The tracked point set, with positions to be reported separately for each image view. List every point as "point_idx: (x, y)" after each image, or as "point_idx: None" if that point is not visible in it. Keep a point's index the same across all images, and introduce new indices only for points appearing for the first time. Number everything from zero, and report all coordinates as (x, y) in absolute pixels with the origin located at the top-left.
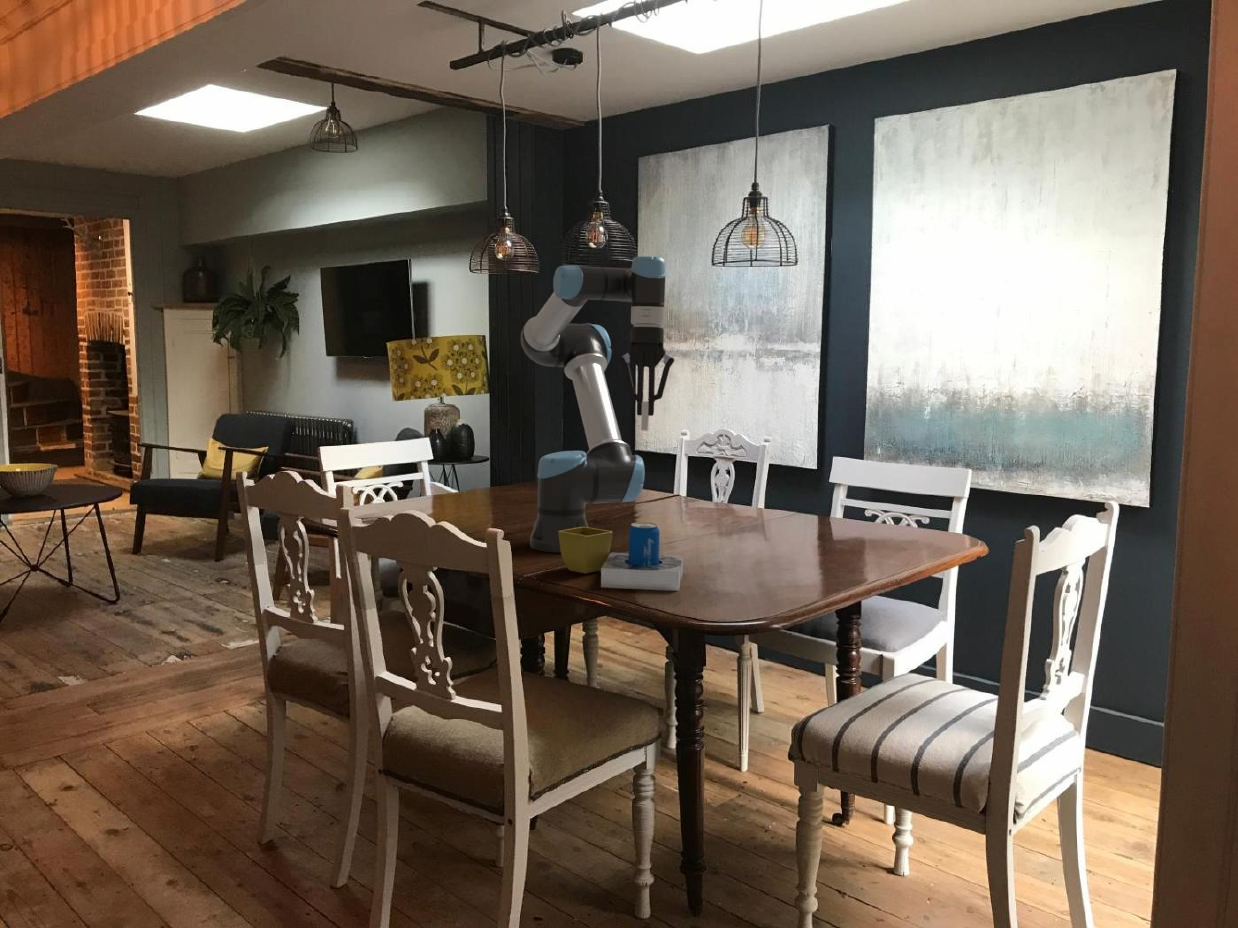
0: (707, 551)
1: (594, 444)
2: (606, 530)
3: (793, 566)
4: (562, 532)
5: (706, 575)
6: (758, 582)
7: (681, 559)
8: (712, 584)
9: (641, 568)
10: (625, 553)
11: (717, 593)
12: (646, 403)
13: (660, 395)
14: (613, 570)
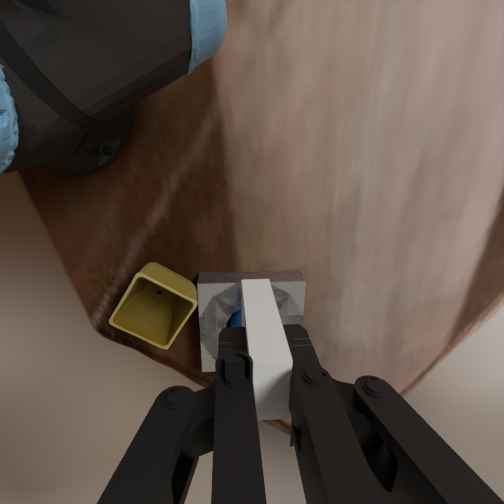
0: (348, 96)
1: None
2: (185, 297)
3: (465, 192)
4: (118, 328)
5: (331, 273)
6: (393, 295)
7: (303, 305)
8: (335, 316)
9: None
10: (220, 285)
11: (337, 352)
12: (276, 412)
13: (377, 449)
14: None
